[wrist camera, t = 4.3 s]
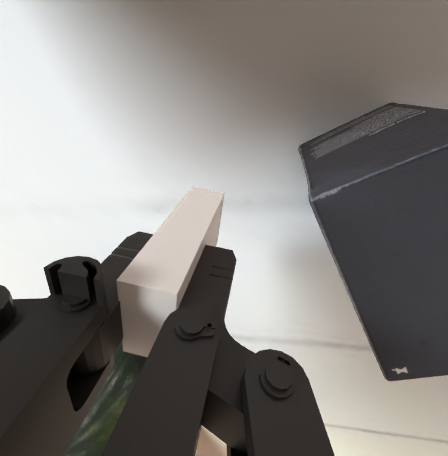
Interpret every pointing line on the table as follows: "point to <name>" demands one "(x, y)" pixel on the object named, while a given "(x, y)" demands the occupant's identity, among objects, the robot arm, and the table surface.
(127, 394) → the squash
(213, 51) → the table surface
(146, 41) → the table surface
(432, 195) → the small box
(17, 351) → the robot arm
